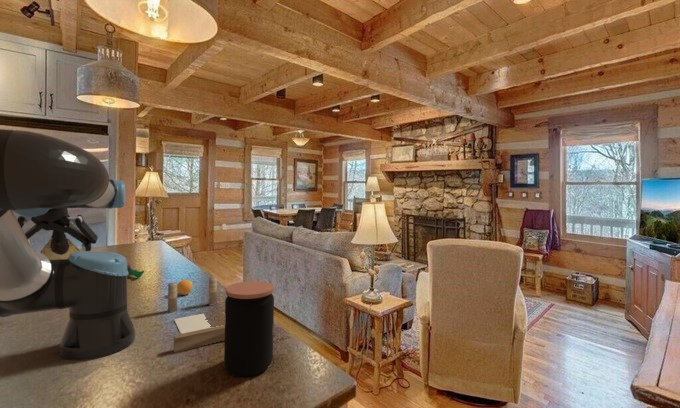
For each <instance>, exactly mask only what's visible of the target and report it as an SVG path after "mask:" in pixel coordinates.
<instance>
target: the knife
mask: <svg viewBox="0 0 680 408" xmlns="http://www.w3.org/2000/svg"><path fill="white" fill-rule="evenodd" d="M127 271H128V276H134V277H135V278H137V279H139V278H141V277H142V275H143V274H144V273H145V269H144V270H141V271H140V270H138V269H132V267H131V265H130V264H127Z"/></svg>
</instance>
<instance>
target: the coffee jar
mask: <svg viewBox="0 0 680 408" xmlns="http://www.w3.org/2000/svg"><path fill="white" fill-rule="evenodd" d="M274 291H275V286H274V285H273V284H272V283H270V282H266V281H260V280H249V281H247V280H246V281H238V282H235V283H232V284H230V285H228V286H226V288H225V295H226V297H225V300H224V301H225V302H224V310H225V311H224V314H225V341H224V347H223V348H224V355H223V360H224V361H223V362H224V368H225V369H226V370H227V372H228V371H229V372H228V374H230V373H231V374H230V375H232V374H233V376H234V375H236V376H235V377H239V376H240V378H241V377H242V376H243V377H242V378H247V377H248V376H249V377H254V376H253V375H255V376H257V375H259V374H258V373H260V374H262V373H263V371H264V370H265V371H267V370H268V368H269V367H270V365H271V364H272V362H273V358H274V355H273V354H274V321H275V320H274V319H275V318H274V317H275V315H274V314H275V312H274V309H275V297H274V294H273V292H274ZM268 366H269V367H268ZM265 371H264V372H265ZM261 372H262V373H261ZM256 374H257V375H256Z"/></svg>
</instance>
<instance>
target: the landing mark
mask: <svg viewBox="0 0 680 408" xmlns="http://www.w3.org/2000/svg"><path fill="white" fill-rule="evenodd" d="M205 319H206V317H205V315H204V313H199V314H194V315H189V316H184V317H178V318H173V320H174V322H175V325H176V327H177V328H178V331H179V334H183V333H188V332H192V331H197V330H202V329H207V328H212V327H210V326H211V325H210V324H209V323H208V322H207V321H208V320H205Z"/></svg>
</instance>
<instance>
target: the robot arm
mask: <svg viewBox="0 0 680 408" xmlns="http://www.w3.org/2000/svg"><path fill="white" fill-rule="evenodd" d="M126 191H127V190H126V183H125V181H123V180H122V179H121V180H120V179H113V178H110V175H109V172H108V170H107V167H106V166H105V165H104V164H103V162H102V161H101V160H100V159H99V158H98V157H96V156H95V155H93V154H92V153H91V152H89V151H88V150H86V149H84V148H82V147H80V146H77V145H76V144H73V143H70V142H68V141H66V140H62V139H60V138H58V137H53V136H50V135H47V134H43V133H40V132H39V133H38V132H35V131H28V130H19V129H15V130H14V129H4V128H3V129H2V128H0V318H5V317H10V316H15V315H23V314H30V313H31V314H32V313H39V312H48V311H55V310H64V309H68V310H69V316H68V317H69V319H68V322H67V325H66V327H65V330H64V332H63V334H62V338H61V341H60V343H59V356H60V357H61V358H63V359H65V360H70V361H81V360H82V361H83V360H90V359H91V360H92V359H97V358H100V357H105V356H109V355H111V354H114V353H117V352H120V351H121V350H124V349H126V348H128V347H129V346H131V345H132V344H133V343H134V341H135V340H136V329H135V326H134V323H133V321H132V318H131V316H130V314H129V311H128V276H129V274H128V271H127V265H128V260H127V258H126V257H125V256H124V255H122V254H120V253H116V252H112V251H110V252H109V251H101V250H92V244H93V245H94V244H97V241H98V238H99V237H98V235H97V234H96V233H95V232H94V230H92V228H91V227H90V226H89V225H88V224H87V222H86V221H85V220H84V217H83V215H82V214H77V216H71V215H70V214H69V212H68V211H69V210H68V209H121V208H124V207H125V205H126V193H127V192H126ZM15 214H17V215H18V217H16V215H15ZM29 221H31V222H33V224H34V225H33V226H32V227H31V228H29V229H28V230H26V231H25V232H24V229H23V227H24V225H25V224H26V223H27V224H28V223H29ZM74 225H75V226H74ZM41 230H44V231H53V230H55V231H59V230H61V231H63V232H64V234H66V233H67V234H68V235H69V236H71V237H72V238H74V239H75V240H77V241H79V242H80V243H81V250H80V252H74V253H71V254H70V256H69V257H68V259H58V260H49V259H48V258H47V257H46V256H45V255H44V254H42V253H40V252H41V251H38V250H34V249H33V246H32V245H31V242H30V238H32V237H33V236H34V235H35V234H37V233H39V232H40V231H41Z"/></svg>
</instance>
